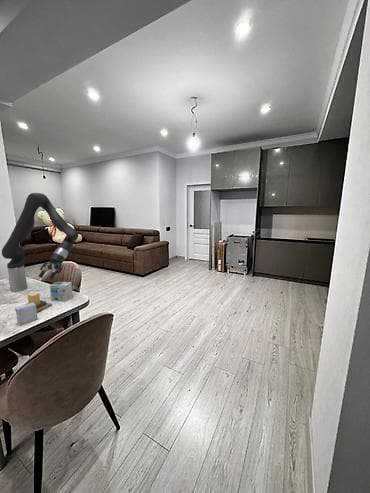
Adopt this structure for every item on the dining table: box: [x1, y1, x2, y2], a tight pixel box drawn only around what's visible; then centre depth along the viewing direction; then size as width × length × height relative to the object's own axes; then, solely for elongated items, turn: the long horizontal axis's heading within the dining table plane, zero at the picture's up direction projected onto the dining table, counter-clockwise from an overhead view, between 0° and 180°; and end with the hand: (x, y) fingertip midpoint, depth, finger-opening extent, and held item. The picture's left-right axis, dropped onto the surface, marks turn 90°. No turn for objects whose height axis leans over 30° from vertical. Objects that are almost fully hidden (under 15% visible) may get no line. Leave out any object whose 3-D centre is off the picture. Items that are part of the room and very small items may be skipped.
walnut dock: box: [24, 299, 53, 314], centre depth 118 cm, size 12×12×3 cm
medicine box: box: [14, 303, 38, 326], centre depth 105 cm, size 8×4×9 cm, turn 141°
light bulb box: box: [49, 281, 74, 302], centre depth 131 cm, size 11×7×11 cm, turn 88°
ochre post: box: [27, 291, 41, 305], centre depth 118 cm, size 4×4×8 cm
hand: (45, 278), depth 123 cm, fingers open, 8 cm apart
